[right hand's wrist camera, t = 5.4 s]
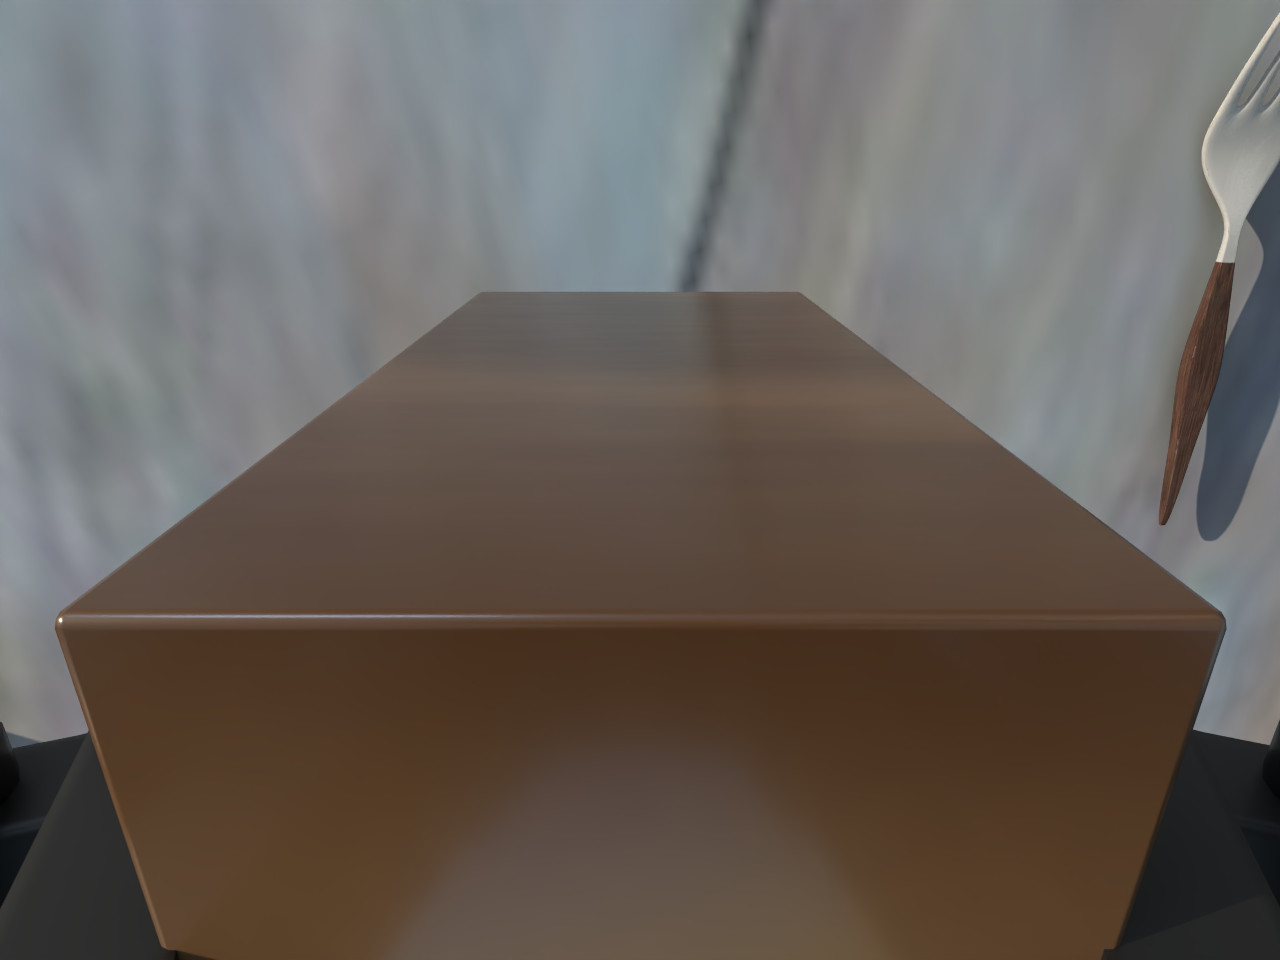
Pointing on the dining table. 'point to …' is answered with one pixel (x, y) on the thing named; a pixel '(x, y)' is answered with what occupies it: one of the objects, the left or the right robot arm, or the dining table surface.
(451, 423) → the box
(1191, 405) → the fork
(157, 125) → the dining table surface
